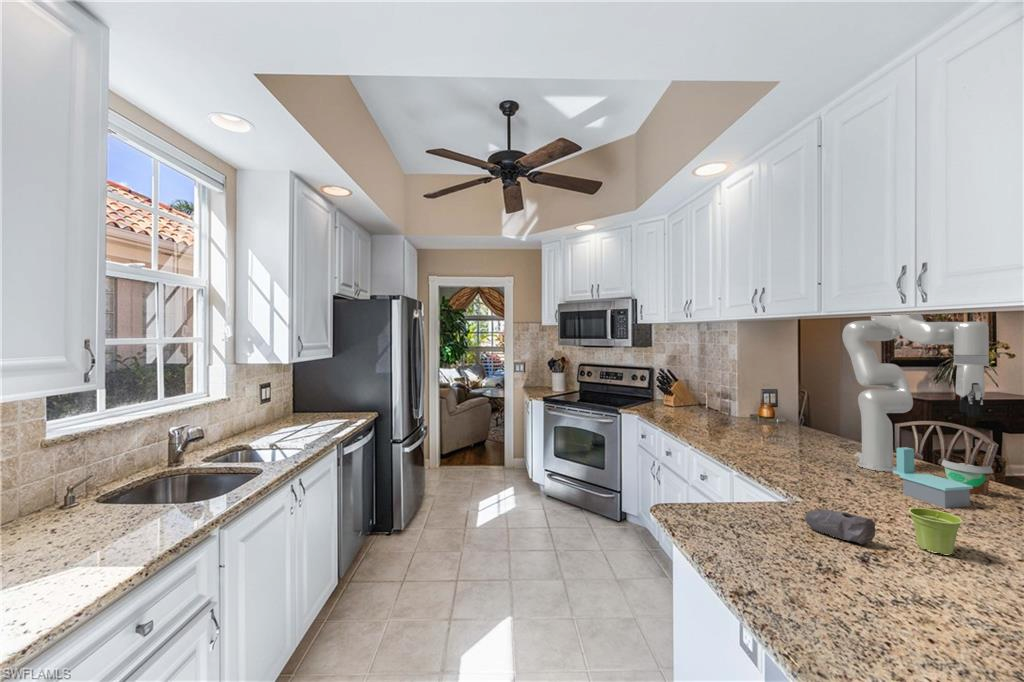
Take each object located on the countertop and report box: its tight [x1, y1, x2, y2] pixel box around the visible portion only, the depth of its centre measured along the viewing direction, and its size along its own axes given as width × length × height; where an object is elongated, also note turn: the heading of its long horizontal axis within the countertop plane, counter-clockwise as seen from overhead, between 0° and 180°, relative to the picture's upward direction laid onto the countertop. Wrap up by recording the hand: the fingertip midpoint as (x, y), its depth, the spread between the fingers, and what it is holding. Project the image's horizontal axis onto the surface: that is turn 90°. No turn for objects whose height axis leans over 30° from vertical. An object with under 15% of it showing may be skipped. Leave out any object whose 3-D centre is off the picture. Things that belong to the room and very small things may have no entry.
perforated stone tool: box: [804, 509, 877, 545], centre depth 112 cm, size 15×5×7 cm, turn 36°
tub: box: [902, 478, 971, 509], centre depth 135 cm, size 12×9×6 cm
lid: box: [892, 446, 973, 491], centre depth 138 cm, size 17×10×9 cm, turn 8°
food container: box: [941, 457, 994, 497], centre depth 143 cm, size 12×6×10 cm, turn 25°
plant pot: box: [908, 507, 963, 555], centre depth 105 cm, size 9×9×9 cm
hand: (971, 414), depth 134 cm, fingers open, 9 cm apart
